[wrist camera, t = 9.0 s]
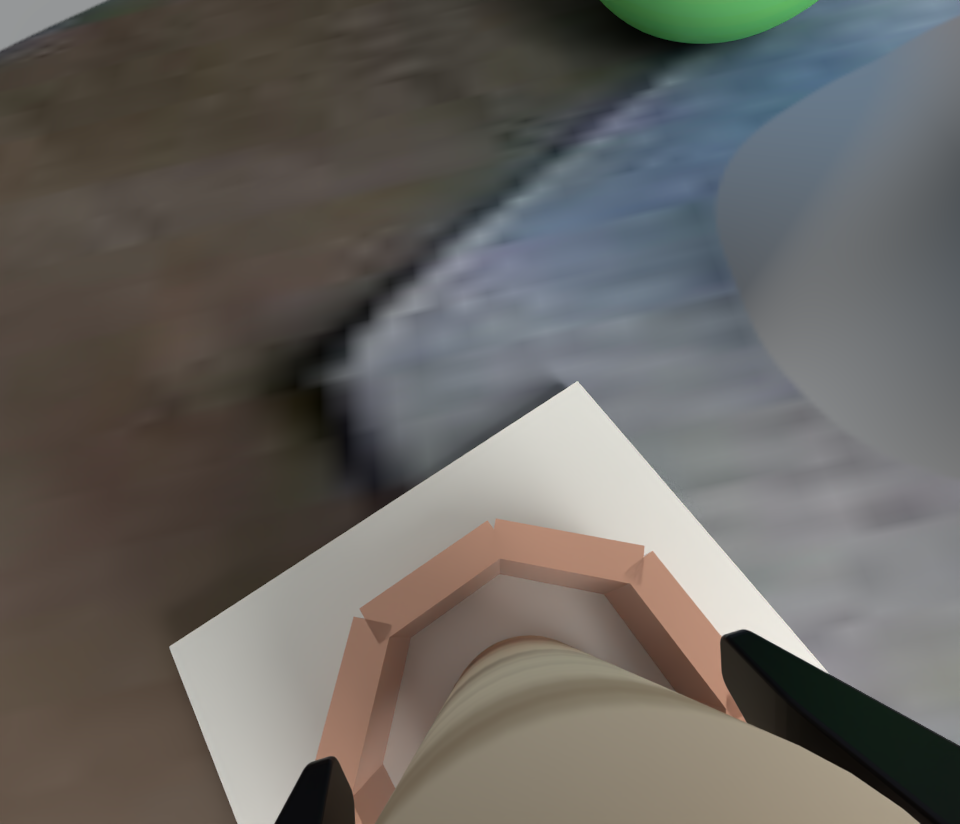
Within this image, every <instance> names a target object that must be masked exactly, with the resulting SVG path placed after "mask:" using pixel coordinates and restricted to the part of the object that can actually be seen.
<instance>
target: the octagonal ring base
mask: <svg viewBox="0 0 960 824" xmlns="http://www.w3.org/2000/svg"><path fill="white" fill-rule="evenodd" d="M741 629H746V630H749V631H752V632H753V633H755V634H757V635H759V636H761V637H763V638H764V639H766V640H768V641H770V642H772V643H773V644H775V645H777V646H779V647H781V648H783V649H784V650H786V651H788V652H790V653H792V654H793V655H795V656H797V657H799V658H801V659H803V660H804V661H806V662H808V663H810V664H812V665H814V666H815V667H817V668H819V669H821V670H823V671H824V672H826V673H828V672H827V671H826V670H825V668H824V667H823V666H822V665H821V664H820V663H819V661H818V660H817V659H816V658H815V657H814V656H813V654H812V653H811V652H810V651H809V650H808V649H807V647H806V646H805V645H804V644H803V643H802V642H801V640H800V639H799V638H798V637H797V636H796V635H795V633H794V632H793V631H792V630H791V629H790V628H789V626H788V625H787V624H786V623H785V622H784V621H783V620H782V618H781V617H780V616H779V615H778V614H777V613H776V611H775V610H774V609H773V608H772V607H771V606H770V604H769V603H768V602H767V601H766V600H765V599H764V597H763V596H762V595H761V594H760V593H759V592H758V590H757V589H756V588H755V587H754V586H753V585H752V583H751V582H750V581H749V580H748V579H747V578H746V576H745V575H744V574H743V573H742V572H741V571H740V570H739V568H738V567H737V566H736V565H735V564H734V563H733V561H732V560H731V559H730V558H729V557H728V556H727V554H726V553H725V552H724V551H723V550H722V549H721V547H720V546H719V545H718V544H717V543H716V542H715V540H714V539H713V538H712V537H711V536H710V535H709V533H708V532H707V531H706V530H705V529H704V528H703V526H702V525H701V524H700V523H699V522H698V521H697V519H696V518H695V517H694V516H693V515H692V514H691V513H690V511H689V510H688V509H687V508H686V507H685V506H684V504H683V503H682V502H681V501H680V500H679V499H678V497H677V496H676V495H675V494H674V493H673V492H672V490H671V489H670V488H669V487H668V486H667V485H666V483H665V482H664V481H663V480H662V479H661V478H660V476H659V475H658V474H657V473H656V472H655V471H654V469H653V468H652V467H651V466H650V465H649V464H648V462H647V461H646V460H645V459H644V458H643V457H642V456H641V454H640V453H639V452H638V451H637V450H636V449H635V447H634V446H633V445H632V444H631V443H630V442H629V440H628V439H627V438H626V437H625V436H624V435H623V433H622V432H621V431H620V430H619V429H618V428H617V426H616V425H615V424H614V423H613V422H612V421H611V419H610V418H609V417H608V416H607V415H606V414H605V412H604V411H603V410H602V409H601V408H600V407H599V405H598V404H597V403H596V402H595V401H594V400H593V399H592V397H591V396H590V395H589V394H588V393H587V392H586V390H585V389H584V388H583V387H582V386H581V385H580V383H579V382H578V381H577V382H575V383H574V384H572V385H571V386H569V387H568V388H566V389H565V390H563V391H562V392H560V393H558V394H557V395H555V396H554V397H552V398H551V399H549V400H548V401H546V402H545V403H543V404H542V405H540V406H538V407H537V408H535V409H534V410H532V411H531V412H529V413H528V414H526V415H525V416H523V417H522V418H520V419H518V420H517V421H515V422H514V423H512V424H511V425H509V426H508V427H506V428H505V429H503V430H502V431H500V432H498V433H497V434H495V435H494V436H492V437H491V438H489V439H488V440H486V441H485V442H483V443H482V444H480V445H478V446H477V447H475V448H474V449H472V450H471V451H469V452H468V453H466V454H465V455H463V456H462V457H460V458H458V459H457V460H455V461H454V462H452V463H451V464H449V465H448V466H446V467H445V468H443V469H442V470H440V471H438V472H437V473H435V474H434V475H432V476H431V477H429V478H428V479H426V480H425V481H423V482H422V483H420V484H419V485H417V486H415V487H414V488H412V489H411V490H409V491H408V492H406V493H405V494H403V495H402V496H400V497H399V498H397V499H395V500H394V501H392V502H391V503H389V504H388V505H386V506H385V507H383V508H382V509H380V510H379V511H377V512H375V513H374V514H372V515H371V516H369V517H368V518H366V519H365V520H363V521H362V522H360V523H359V524H357V525H355V526H354V527H352V528H351V529H349V530H348V531H346V532H345V533H343V534H342V535H340V536H339V537H337V538H335V539H334V540H332V541H331V542H329V543H328V544H326V545H325V546H323V547H322V548H320V549H319V550H317V551H315V552H314V553H312V554H311V555H309V556H308V557H306V558H305V559H303V560H302V561H300V562H299V563H297V564H296V565H294V566H292V567H291V568H289V569H288V570H286V571H285V572H283V573H282V574H280V575H279V576H277V577H276V578H274V579H272V580H271V581H269V582H268V583H266V584H265V585H263V586H262V587H260V588H259V589H257V590H256V591H254V592H252V593H251V594H249V595H248V596H246V597H245V598H243V599H242V600H240V601H239V602H237V603H236V604H234V605H232V606H231V607H229V608H228V609H226V610H225V611H223V612H222V613H220V614H219V615H217V616H216V617H214V618H212V619H211V620H209V621H208V622H206V623H205V624H203V625H202V626H200V627H199V628H197V629H196V630H194V631H192V632H191V633H189V634H188V635H186V636H185V637H183V638H182V639H180V640H179V641H177V642H176V643H174V644H172V645H171V646H169V648H170V651H171V653H172V656H173V658H174V661H175V664H176V666H177V669H178V671H179V674H180V676H181V679H182V682H183V684H184V687H185V689H186V692H187V694H188V697H189V700H190V702H191V705H192V707H193V710H194V712H195V715H196V718H197V720H198V723H199V725H200V728H201V731H202V733H203V736H204V738H205V741H206V743H207V746H208V749H209V751H210V754H211V756H212V759H213V761H214V764H215V767H216V769H217V772H218V774H219V777H220V779H221V782H222V785H223V787H224V790H225V792H226V795H227V798H228V800H229V803H230V805H231V808H232V810H233V813H234V816H235V818H236V821H237V823H238V824H274V823H275V821H276V820H277V818H278V816H279V814H280V812H281V810H282V808H283V806H284V805H285V803H286V801H287V799H288V797H289V795H290V793H291V792H292V790H293V788H294V786H295V784H296V782H297V780H298V779H299V777H300V775H301V773H302V771H303V769H304V768H305V767H306V765H307V764H309V763H310V762H312V761H315V760H319V759H322V758H325V757H328V756H334V757H336V758H337V760H338V761H339V763H340V765H341V768H342V770H343V772H344V774H345V776H346V778H347V780H348V783H349V785H350V787H351V789H352V793H353V797H354V805H355V824H375V823H376V821H377V819H378V817H379V816H380V814H381V812H382V811H383V809H384V807H385V805H386V804H387V802H388V800H389V799H390V797H391V795H392V793H393V792H394V790H395V788H396V786H397V785H398V783H399V781H400V780H401V778H402V776H403V774H404V773H405V771H406V769H407V767H408V766H409V764H410V762H411V761H412V759H413V757H414V755H415V754H416V752H417V750H418V748H419V747H420V745H421V743H422V742H423V740H424V738H425V736H426V735H427V733H428V731H429V729H430V728H431V726H432V724H433V723H434V721H435V719H436V717H437V716H438V714H439V712H440V710H441V709H442V707H443V705H444V704H445V702H446V700H447V698H448V697H449V695H450V693H451V691H452V690H453V688H454V686H455V685H456V683H457V681H458V679H459V678H460V676H461V675H462V673H463V671H464V670H465V669H466V668H467V666H468V665H469V664H470V663H471V661H472V660H473V659H475V658H476V657H477V656H478V655H479V654H480V653H481V652H483V651H484V650H485V649H487V648H488V647H490V646H492V645H494V644H496V643H497V642H500V641H502V640H505V639H508V638H512V637H517V636H527V635H533V636H543V637H547V638H551V639H554V640H557V641H560V642H562V643H565V644H567V645H569V646H572V647H574V648H576V649H578V650H581V651H583V652H585V653H588V654H590V655H592V656H595V657H597V658H599V659H601V660H604V661H606V662H608V663H611V664H613V665H615V666H617V667H620V668H622V669H624V670H627V671H629V672H631V673H634V674H636V675H638V676H640V677H643V678H645V679H647V680H650V681H652V682H654V683H656V684H659V685H661V686H663V687H666V688H668V689H670V690H673V691H675V692H677V693H679V694H682V695H684V696H686V697H689V698H691V699H693V700H695V701H698V702H700V703H702V704H705V705H707V706H709V707H712V708H714V709H716V710H718V711H721V712H723V713H725V714H728V715H730V716H732V717H734V718H737V719H739V720H741V721H744V722H746V721H745V719H744V717H743V715H742V714H741V712H740V710H739V708H738V706H737V705H736V703H735V701H734V699H733V698H732V696H731V694H730V692H729V691H728V689H727V687H726V685H725V682H724V680H723V676H722V671H721V652H720V639H721V637H722V636H723V635H724V634H728V633H731V632H734V631H737V630H741ZM828 674H829V673H828ZM746 723H747V722H746Z"/></svg>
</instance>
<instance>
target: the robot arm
mask: <svg viewBox="0 0 960 824" xmlns="http://www.w3.org/2000/svg"><path fill="white" fill-rule="evenodd" d="M720 652H721V671H722V676H723V680H724V682H725V685H726V687H727V689H728V691H729V692H730V694H731V696H732V698H733V699H734V701H735V703H736V705H737V706H738V708H739V710H740V712H741V714H742V715H743V717H744V719H745V721H746V722H747V723H748V724H751V725H753V726H755V727H757V728H760V729H762V730H764V731H767V732H769V733H771V734H773V735H776V736H778V737H780V738H783V739H785V740H787V741H789V742H792V743H794V744H796V745H799V746H801V747H803V748H805V749H806V750H808V751H810V752H812V753H814V754H816V755H818V756H820V757H822V758H823V759H825V760H827V761H829V762H831V763H833V764H835V765H837V766H838V767H840V768H842V769H844V770H846V771H848V772H850V773H852V774H853V775H854V776H856V777H857V778H859V779H860V780H862V781H863V782H865V783H866V784H868V785H869V786H870V787H872V788H873V789H875V790H876V791H878V792H879V793H881V794H882V795H884V796H885V797H886V798H888V799H889V800H891V801H892V802H894V803H895V804H897V805H898V806H900V807H901V808H902V809H904V810H905V811H906V812H907V813H908V814H910V815H911V816H912V817H913V818H914V819H915V820H917V821H918V822H919V823H920V824H960V746H959V745H957V744H955V743H954V742H952V741H950V740H948V739H946V738H945V737H943V736H941V735H939V734H937V733H935V732H934V731H932V730H930V729H928V728H926V727H925V726H923V725H921V724H919V723H917V722H915V721H914V720H912V719H910V718H908V717H906V716H905V715H903V714H901V713H899V712H897V711H895V710H894V709H892V708H890V707H888V706H886V705H884V704H883V703H881V702H879V701H877V700H875V699H874V698H872V697H870V696H868V695H866V694H864V693H863V692H861V691H859V690H857V689H855V688H854V687H852V686H850V685H848V684H846V683H844V682H843V681H841V680H839V679H837V678H835V677H834V676H832V675H830V674H828V673H826V672H824V671H823V670H821V669H819V668H817V667H815V666H814V665H812V664H810V663H808V662H806V661H804V660H803V659H801V658H799V657H797V656H795V655H793V654H792V653H790V652H788V651H786V650H784V649H783V648H781V647H779V646H777V645H775V644H773V643H772V642H770V641H768V640H766V639H764V638H763V637H761V636H759V635H757V634H755V633H753V632H752V631H749V630H746V629H741V630H737V631H734V632H731V633H728V634H724V635H723V636H722V637H721V639H720ZM274 824H355V805H354V797H353V793H352V789H351V787H350V785H349V783H348V780H347V778H346V776H345V774H344V772H343V770H342V768H341V765H340V763H339V761H338V760H337V758H336V757H334V756H328V757H325V758H322V759H319V760H315V761H312V762H310V763H309V764H307V765H306V767H305V768H304V769H303V771H302V773H301V775H300V777H299V779H298V780H297V782H296V784H295V786H294V788H293V790H292V792H291V793H290V795H289V797H288V799H287V801H286V803H285V805H284V806H283V808H282V810H281V812H280V814H279V816H278V818H277V820H276V821H275V823H274Z"/></svg>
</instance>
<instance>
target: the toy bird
mask: <svg viewBox="0 0 960 824" xmlns="http://www.w3.org/2000/svg"><path fill="white" fill-rule="evenodd" d="M600 1H601V2H602V3H603V4H604V5H605V6H606V7H607V8H608V9H609V10H610V11H611V12H613V13H614V14H615V15H616V16H617V17H619V18H620V19H621V20H623V21H624V22H626V23H627V24H629V25H631V26H632V27H634V28H636V29H638V30H640V31H642V32H644V33H647V34H649V35H652V36H655V37H658V38H662V39H666V40H670V41H675V42H682V43H693V44H711V43H722V42H729V41H734V40H739V39H743V38H746V37H750V36H753V35H756V34H759V33H761V32H764V31H766V30H769V29H771V28H773V27H775V26H778V25H780V24H782V23H784V22H785V21H787V20H789V19H791V18H793V17H794V16H796V15H798V14H799V13H801V12H802V11H804V10H805V9H807V8H808V7H810V6H811V5H813V4H814V3H816V2H817V1H818V0H600Z"/></svg>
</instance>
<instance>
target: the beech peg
mask: <svg viewBox="0 0 960 824" xmlns="http://www.w3.org/2000/svg"><path fill="white" fill-rule="evenodd" d="M375 824H920V823H919V822H918V821H917V820H915V819H914V818H913V817H912V816H911V815H910V814H908V813H907V812H906V811H905V810H904V809H902V808H901V807H900V806H898V805H897V804H895V803H894V802H892V801H891V800H889V799H888V798H886V797H885V796H884V795H882V794H881V793H879V792H878V791H876V790H875V789H873V788H872V787H870V786H869V785H868V784H866V783H865V782H863V781H862V780H860V779H859V778H857V777H856V776H854V775H853V774H852V773H850V772H848V771H846V770H844V769H842V768H840V767H838V766H837V765H835V764H833V763H831V762H829V761H827V760H825V759H823V758H822V757H820V756H818V755H816V754H814V753H812V752H810V751H808V750H806V749H805V748H803V747H801V746H799V745H796V744H794V743H792V742H789V741H787V740H785V739H783V738H780V737H778V736H776V735H773V734H771V733H769V732H767V731H764V730H762V729H760V728H757V727H755V726H753V725H751V724H748V723H746V722H744V721H741V720H739V719H737V718H734V717H732V716H730V715H728V714H725V713H723V712H721V711H718V710H716V709H714V708H712V707H709V706H707V705H705V704H702V703H700V702H698V701H695V700H693V699H691V698H689V697H686V696H684V695H682V694H679V693H677V692H675V691H673V690H670V689H668V688H666V687H663V686H661V685H659V684H656V683H654V682H652V681H650V680H647V679H645V678H643V677H640V676H638V675H636V674H634V673H631V672H629V671H627V670H624V669H622V668H620V667H617V666H615V665H613V664H611V663H608V662H606V661H604V660H601V659H599V658H597V657H595V656H592V655H590V654H588V653H585V652H583V651H581V650H578V649H576V648H574V647H572V646H569V645H567V644H565V643H562V642H560V641H557V640H554V639H551V638H547V637H543V636H533V635H527V636H517V637H512V638H508V639H505V640H502V641H500V642H497V643H496V644H494V645H492V646H490V647H488V648H487V649H485V650H484V651H483V652H481V653H480V654H479V655H478V656H477V657H476V658H475V659H473V660H472V661H471V663H470V664H469V665H468V666H467V668H466V669H465V670H464V671H463V673H462V675H461V676H460V678H459V679H458V681H457V683H456V685H455V686H454V688H453V690H452V691H451V693H450V695H449V697H448V698H447V700H446V702H445V704H444V705H443V707H442V709H441V710H440V712H439V714H438V716H437V717H436V719H435V721H434V723H433V724H432V726H431V728H430V729H429V731H428V733H427V735H426V736H425V738H424V740H423V742H422V743H421V745H420V747H419V748H418V750H417V752H416V754H415V755H414V757H413V759H412V761H411V762H410V764H409V766H408V767H407V769H406V771H405V773H404V774H403V776H402V778H401V780H400V781H399V783H398V785H397V786H396V788H395V790H394V792H393V793H392V795H391V797H390V799H389V800H388V802H387V804H386V805H385V807H384V809H383V811H382V812H381V814H380V816H379V817H378V819H377V821H376V823H375Z"/></svg>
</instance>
